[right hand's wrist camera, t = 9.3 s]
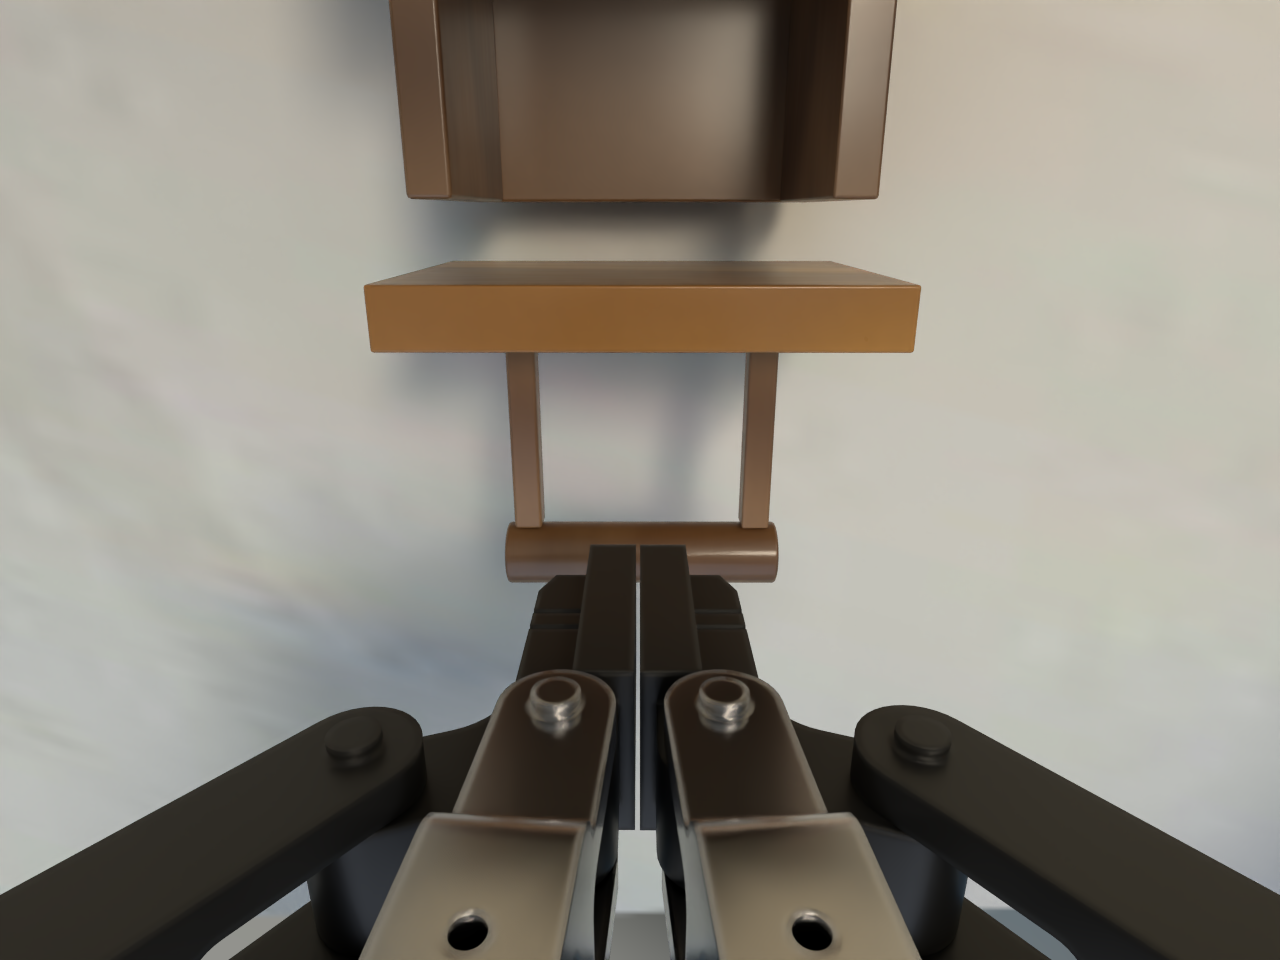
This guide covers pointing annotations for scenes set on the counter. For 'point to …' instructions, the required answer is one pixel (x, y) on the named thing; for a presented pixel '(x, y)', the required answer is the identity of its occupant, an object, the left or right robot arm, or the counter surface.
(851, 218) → the counter surface
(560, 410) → the counter surface
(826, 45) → the drawer
